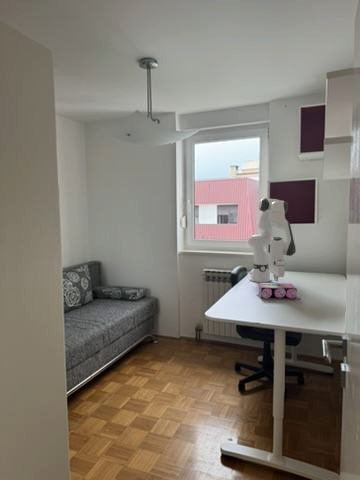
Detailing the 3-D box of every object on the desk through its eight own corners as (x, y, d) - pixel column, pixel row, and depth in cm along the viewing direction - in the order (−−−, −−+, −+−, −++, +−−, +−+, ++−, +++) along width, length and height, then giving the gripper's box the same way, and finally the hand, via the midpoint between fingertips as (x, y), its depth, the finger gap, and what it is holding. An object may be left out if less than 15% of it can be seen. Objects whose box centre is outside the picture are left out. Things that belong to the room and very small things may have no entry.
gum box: (293, 283, 226) (298, 288, 212) (293, 294, 226) (298, 299, 213) (258, 282, 228) (261, 287, 215) (258, 293, 229) (260, 298, 216)
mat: (256, 294, 227) (256, 294, 227) (292, 294, 229) (292, 293, 229) (262, 300, 213) (262, 299, 213) (301, 299, 215) (301, 299, 215)
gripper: (266, 258, 234) (266, 278, 235) (277, 263, 213) (276, 284, 215) (275, 258, 234) (275, 277, 235) (286, 263, 214) (286, 284, 215)
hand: (275, 280), depth 225 cm, fingers closed
